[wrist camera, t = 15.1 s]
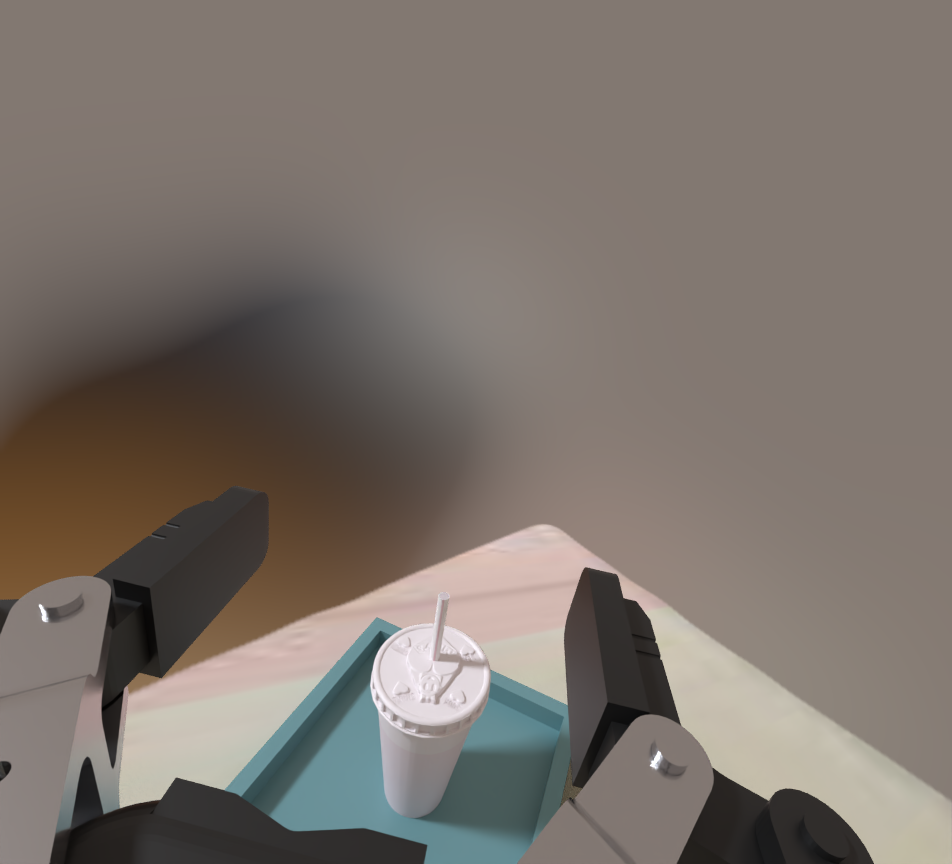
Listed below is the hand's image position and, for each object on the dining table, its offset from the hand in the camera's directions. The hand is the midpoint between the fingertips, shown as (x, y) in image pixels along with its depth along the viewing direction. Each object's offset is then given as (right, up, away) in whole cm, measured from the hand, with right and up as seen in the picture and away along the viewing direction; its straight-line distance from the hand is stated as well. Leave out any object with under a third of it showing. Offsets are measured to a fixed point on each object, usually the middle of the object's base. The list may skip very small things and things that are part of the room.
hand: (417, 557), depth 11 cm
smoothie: (-2, -18, +17) cm, 25 cm away
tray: (-3, -19, +17) cm, 26 cm away
